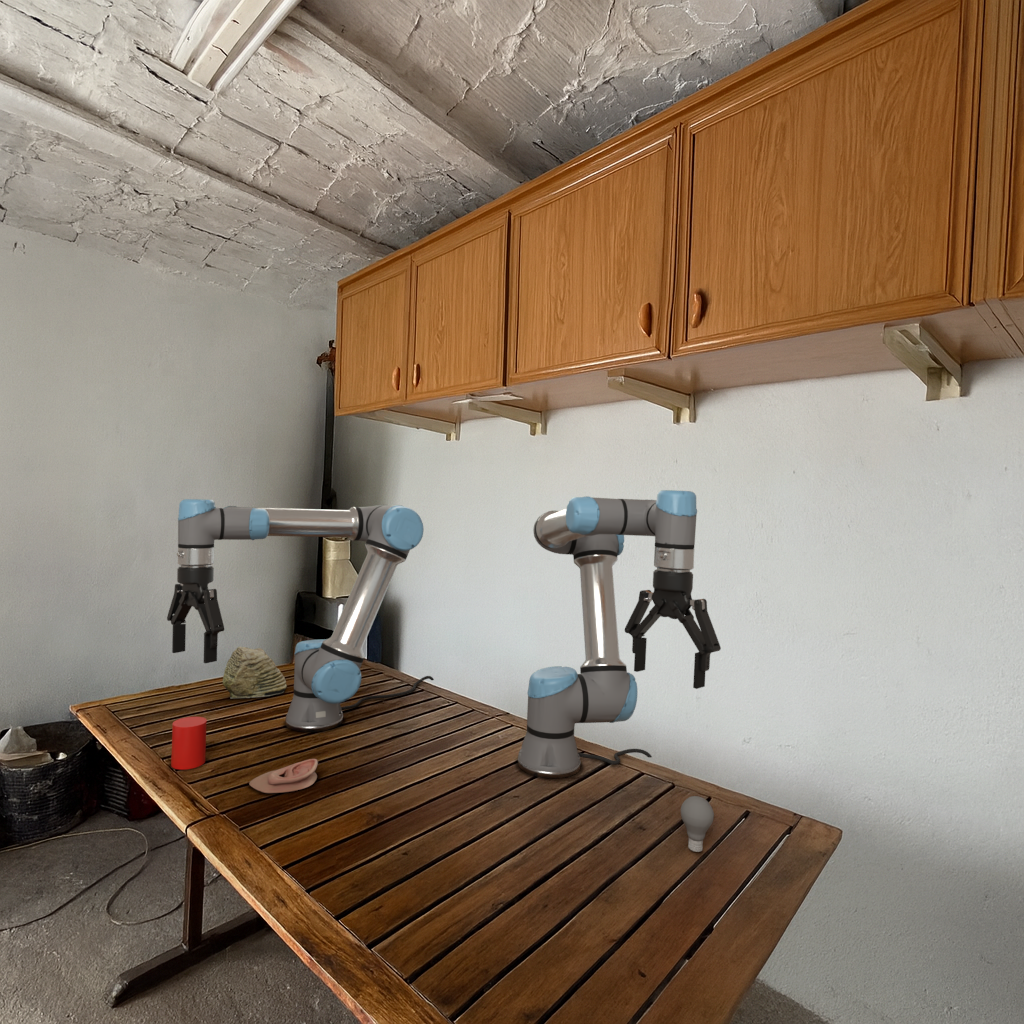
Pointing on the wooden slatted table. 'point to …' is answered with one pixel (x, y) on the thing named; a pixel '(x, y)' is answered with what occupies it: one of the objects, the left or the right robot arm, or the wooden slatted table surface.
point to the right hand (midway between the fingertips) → (668, 678)
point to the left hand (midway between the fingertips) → (194, 657)
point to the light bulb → (696, 820)
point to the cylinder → (188, 743)
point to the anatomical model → (287, 778)
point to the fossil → (252, 674)
